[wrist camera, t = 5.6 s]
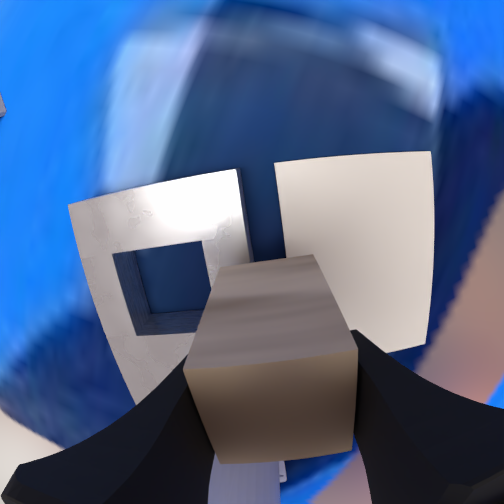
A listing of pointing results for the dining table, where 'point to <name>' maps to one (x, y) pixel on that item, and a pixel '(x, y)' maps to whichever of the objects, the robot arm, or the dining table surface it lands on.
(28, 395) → the dining table surface
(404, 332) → the pad
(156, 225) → the white frame
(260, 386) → the peg
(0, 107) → the hinge
